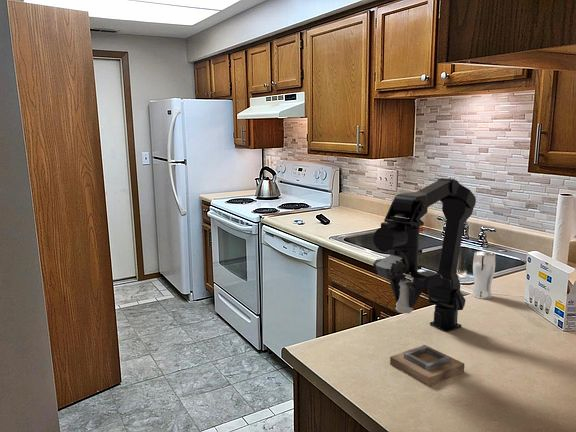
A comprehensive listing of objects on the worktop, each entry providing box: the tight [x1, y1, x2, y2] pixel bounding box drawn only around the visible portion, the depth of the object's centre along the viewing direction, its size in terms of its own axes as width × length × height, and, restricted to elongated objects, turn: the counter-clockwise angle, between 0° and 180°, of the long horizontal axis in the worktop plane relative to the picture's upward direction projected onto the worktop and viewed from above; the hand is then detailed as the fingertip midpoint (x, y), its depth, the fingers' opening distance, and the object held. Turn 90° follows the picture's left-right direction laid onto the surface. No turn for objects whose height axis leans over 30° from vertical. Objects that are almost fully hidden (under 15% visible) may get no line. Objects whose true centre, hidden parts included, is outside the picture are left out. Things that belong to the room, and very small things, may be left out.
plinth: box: [389, 344, 465, 387], centre depth 112 cm, size 12×12×3 cm
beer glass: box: [472, 250, 496, 300], centre depth 160 cm, size 7×7×15 cm
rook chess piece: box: [395, 278, 414, 314], centre depth 120 cm, size 4×4×8 cm
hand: (404, 304), depth 120 cm, fingers closed on rook chess piece, 4 cm apart
